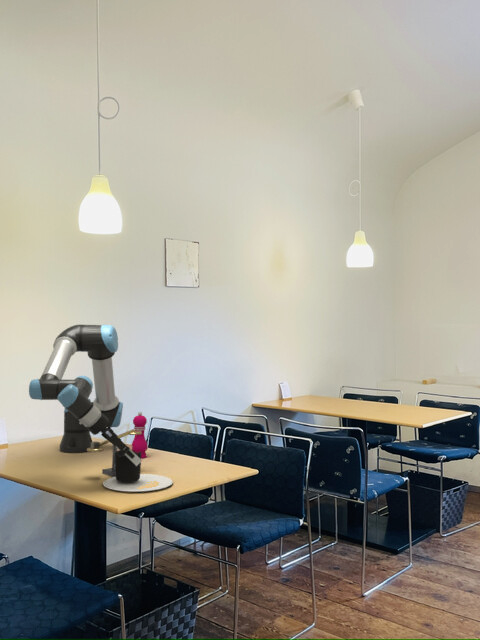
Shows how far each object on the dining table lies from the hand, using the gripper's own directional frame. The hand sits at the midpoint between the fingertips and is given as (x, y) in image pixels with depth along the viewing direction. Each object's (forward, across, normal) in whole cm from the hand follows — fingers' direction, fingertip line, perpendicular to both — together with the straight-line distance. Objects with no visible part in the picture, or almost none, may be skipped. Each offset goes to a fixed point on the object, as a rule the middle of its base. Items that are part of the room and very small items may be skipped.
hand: (134, 459), depth 219 cm
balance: (+3, -14, -9) cm, 17 cm away
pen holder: (+3, 0, -7) cm, 8 cm away
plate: (+7, +4, -6) cm, 10 cm away
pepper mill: (+15, -42, +3) cm, 44 cm away
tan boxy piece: (+6, -24, -5) cm, 25 cm away
